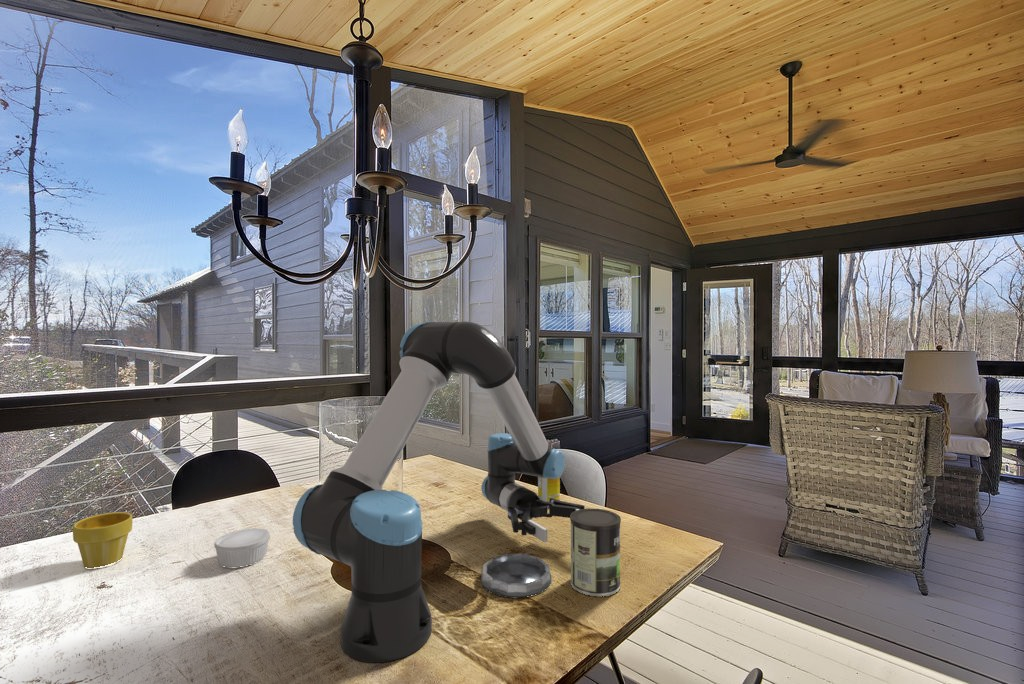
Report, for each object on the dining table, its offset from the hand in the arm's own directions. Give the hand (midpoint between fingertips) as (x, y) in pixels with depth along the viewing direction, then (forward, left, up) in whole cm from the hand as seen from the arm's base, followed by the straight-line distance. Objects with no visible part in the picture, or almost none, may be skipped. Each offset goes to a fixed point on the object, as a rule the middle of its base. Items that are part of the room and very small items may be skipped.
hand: (571, 529), depth 109 cm
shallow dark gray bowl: (-13, +2, -8) cm, 16 cm away
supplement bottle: (+20, +37, -9) cm, 42 cm away
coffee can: (0, -8, -9) cm, 12 cm away
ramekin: (-62, +42, -9) cm, 75 cm away
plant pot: (-89, +56, -9) cm, 106 cm away
